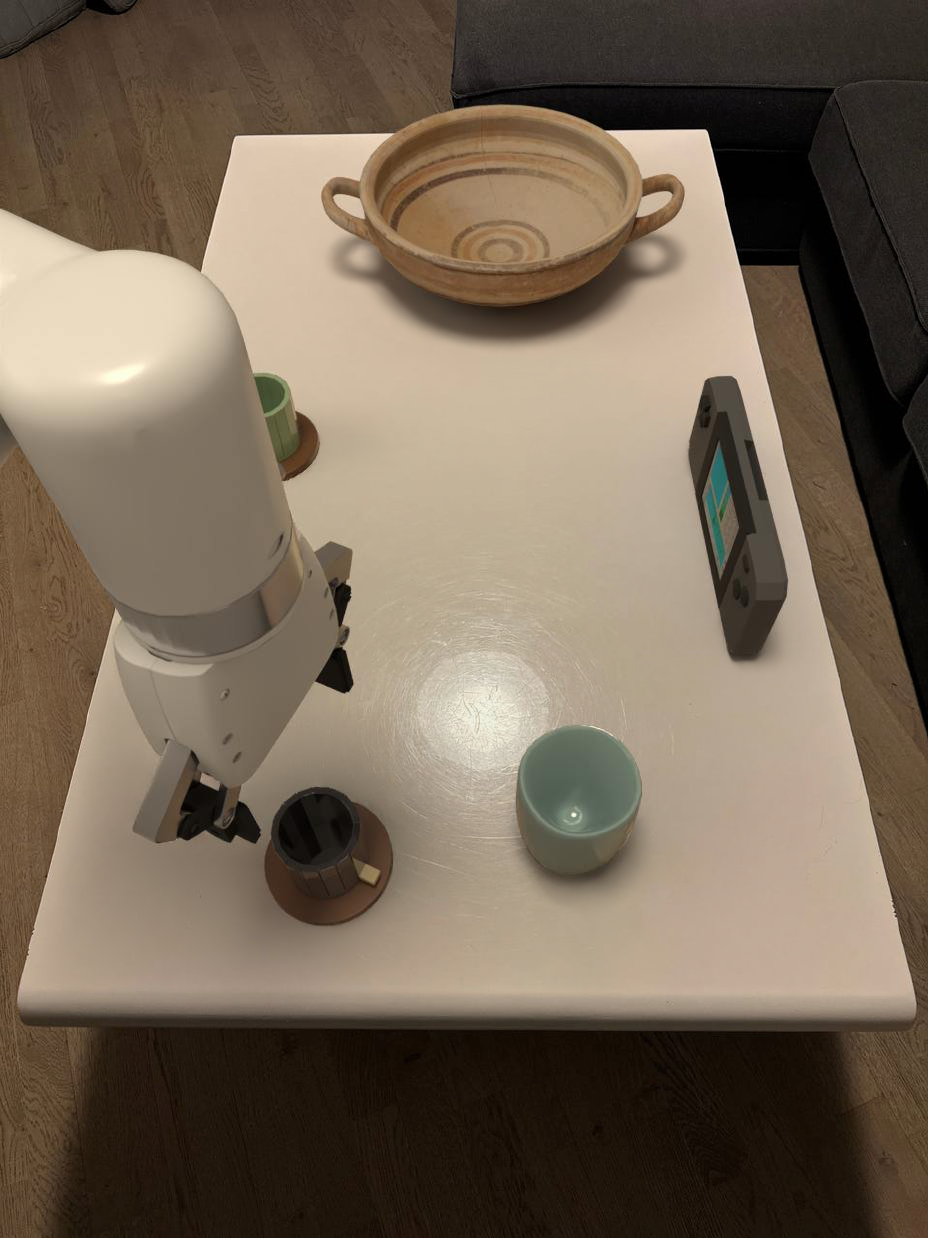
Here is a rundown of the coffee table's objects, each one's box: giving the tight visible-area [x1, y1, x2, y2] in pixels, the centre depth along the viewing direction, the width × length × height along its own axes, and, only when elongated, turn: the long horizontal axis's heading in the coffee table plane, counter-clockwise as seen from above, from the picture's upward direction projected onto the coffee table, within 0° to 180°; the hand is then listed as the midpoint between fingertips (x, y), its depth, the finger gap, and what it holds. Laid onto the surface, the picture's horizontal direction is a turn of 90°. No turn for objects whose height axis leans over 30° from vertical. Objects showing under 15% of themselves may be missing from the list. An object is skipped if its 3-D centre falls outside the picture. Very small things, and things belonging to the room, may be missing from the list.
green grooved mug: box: [253, 372, 301, 462], centre depth 86 cm, size 6×7×6 cm
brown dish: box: [279, 410, 320, 482], centre depth 88 cm, size 9×9×1 cm
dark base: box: [263, 800, 394, 927], centre depth 66 cm, size 9×9×1 cm
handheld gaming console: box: [688, 375, 789, 655], centre depth 77 cm, size 23×3×10 cm, turn 1°
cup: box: [515, 724, 643, 876], centre depth 63 cm, size 8×8×10 cm
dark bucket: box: [270, 786, 381, 899], centre depth 63 cm, size 6×7×6 cm
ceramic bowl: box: [320, 104, 686, 307], centre depth 99 cm, size 37×29×10 cm
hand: (283, 751), depth 51 cm, fingers open, 9 cm apart
